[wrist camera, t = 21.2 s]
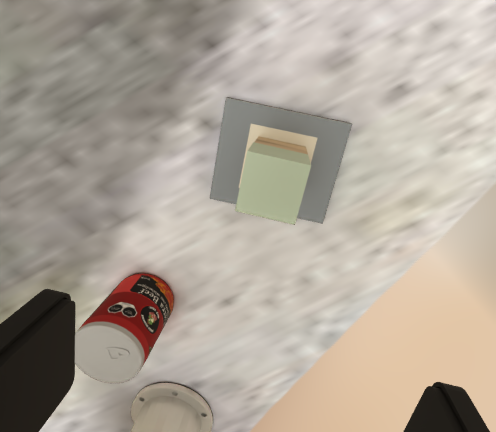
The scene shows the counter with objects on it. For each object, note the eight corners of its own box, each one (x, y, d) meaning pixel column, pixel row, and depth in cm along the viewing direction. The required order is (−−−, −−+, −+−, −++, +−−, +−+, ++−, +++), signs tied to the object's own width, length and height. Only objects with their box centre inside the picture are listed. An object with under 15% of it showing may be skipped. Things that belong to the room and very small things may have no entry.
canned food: (185, 309, 45) (155, 373, 35) (137, 327, 47) (95, 392, 37) (156, 262, 43) (115, 315, 33) (107, 283, 45) (54, 339, 35)
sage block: (293, 205, 32) (294, 224, 27) (242, 193, 32) (235, 210, 28) (307, 154, 30) (311, 165, 26) (253, 142, 31) (247, 150, 26)
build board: (321, 219, 39) (322, 223, 38) (211, 195, 39) (209, 198, 38) (350, 123, 35) (352, 124, 34) (228, 97, 35) (225, 97, 34)
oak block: (294, 191, 37) (294, 206, 32) (249, 181, 37) (243, 194, 32) (305, 146, 35) (308, 154, 30) (258, 136, 35) (253, 142, 31)
